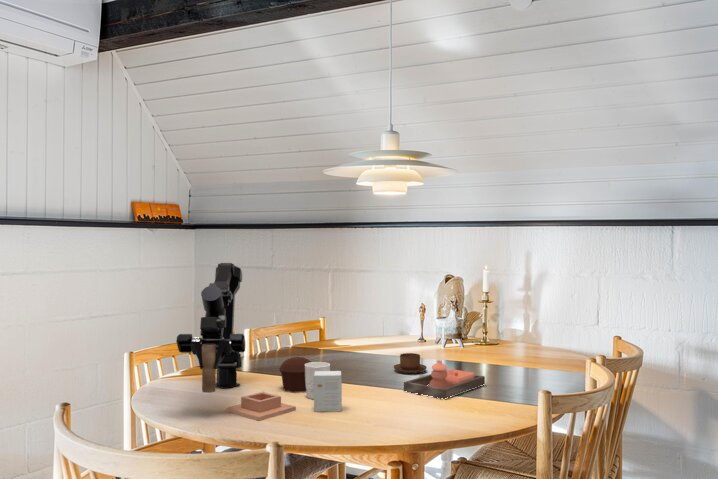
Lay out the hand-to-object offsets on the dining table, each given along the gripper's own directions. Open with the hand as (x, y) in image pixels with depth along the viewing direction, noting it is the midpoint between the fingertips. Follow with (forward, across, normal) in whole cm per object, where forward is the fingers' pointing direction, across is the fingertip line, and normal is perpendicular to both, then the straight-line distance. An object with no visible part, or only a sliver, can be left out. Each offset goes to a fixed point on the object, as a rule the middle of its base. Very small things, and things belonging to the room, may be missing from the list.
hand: (208, 368), depth 183 cm
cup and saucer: (-29, +64, +49) cm, 86 cm away
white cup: (-5, +30, +24) cm, 39 cm away
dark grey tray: (-11, +72, +30) cm, 79 cm away
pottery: (-12, +73, +32) cm, 80 cm away
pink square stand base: (+5, +14, +14) cm, 20 cm away
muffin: (-12, +24, +32) cm, 42 cm away
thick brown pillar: (+4, 0, +6) cm, 7 cm away
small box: (+5, +33, +14) cm, 36 cm away
